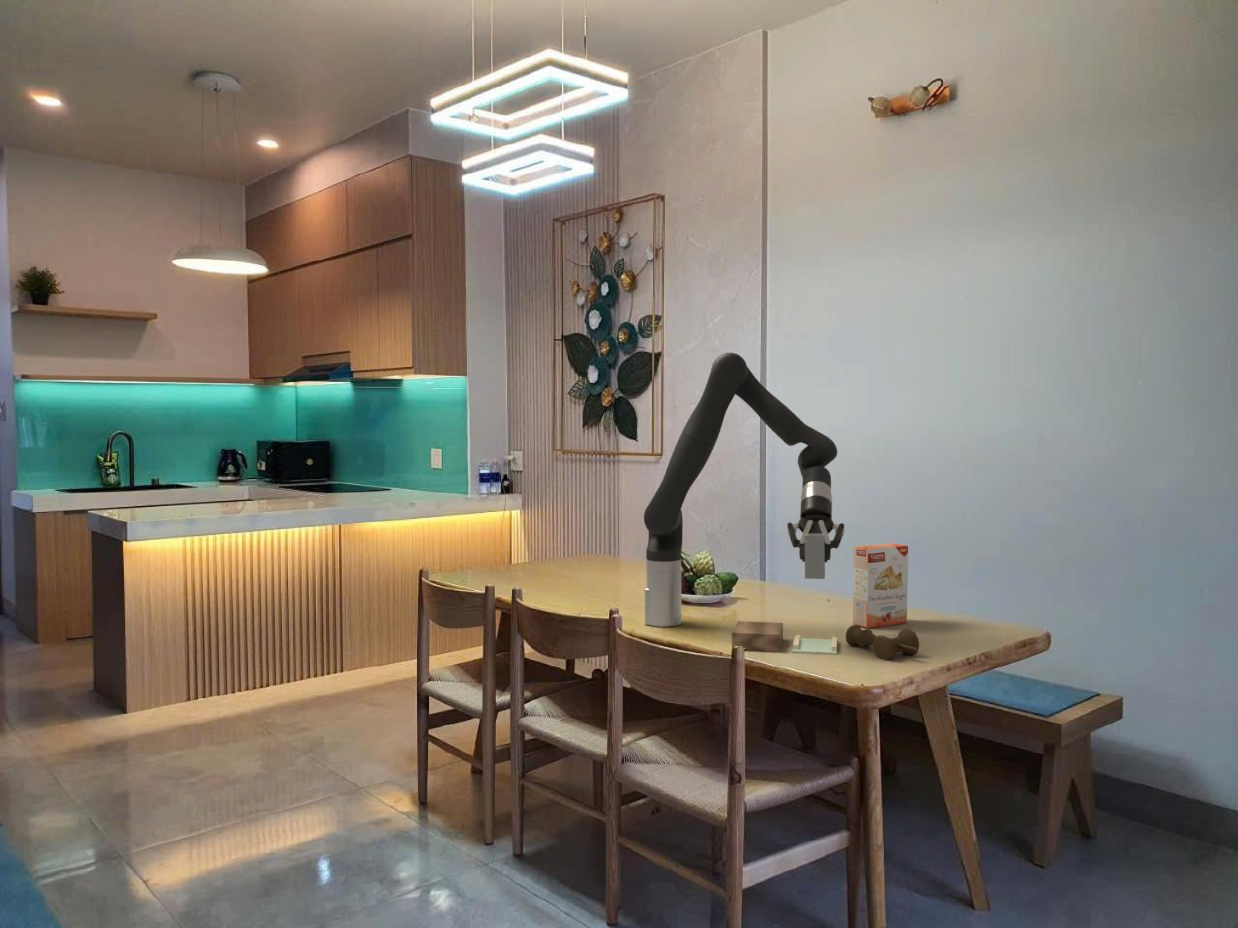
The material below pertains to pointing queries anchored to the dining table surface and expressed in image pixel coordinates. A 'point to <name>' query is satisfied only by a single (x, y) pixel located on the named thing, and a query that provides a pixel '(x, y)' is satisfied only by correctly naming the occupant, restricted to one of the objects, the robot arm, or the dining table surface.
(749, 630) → the riser
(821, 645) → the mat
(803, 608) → the dining table surface
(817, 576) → the gray rectangular block
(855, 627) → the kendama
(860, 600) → the cracker box
